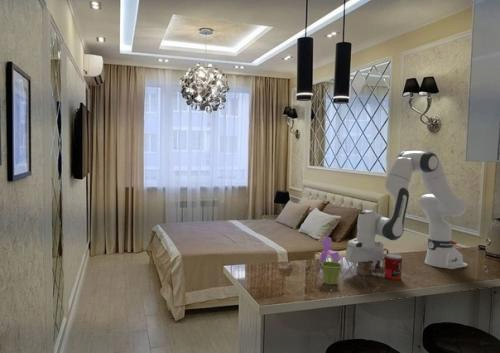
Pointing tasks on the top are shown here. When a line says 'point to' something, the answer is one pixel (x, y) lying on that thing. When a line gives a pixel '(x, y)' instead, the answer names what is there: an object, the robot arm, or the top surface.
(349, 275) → the top surface
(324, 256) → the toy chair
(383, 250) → the mug
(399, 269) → the canned food
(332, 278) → the plant pot
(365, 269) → the walnut block
